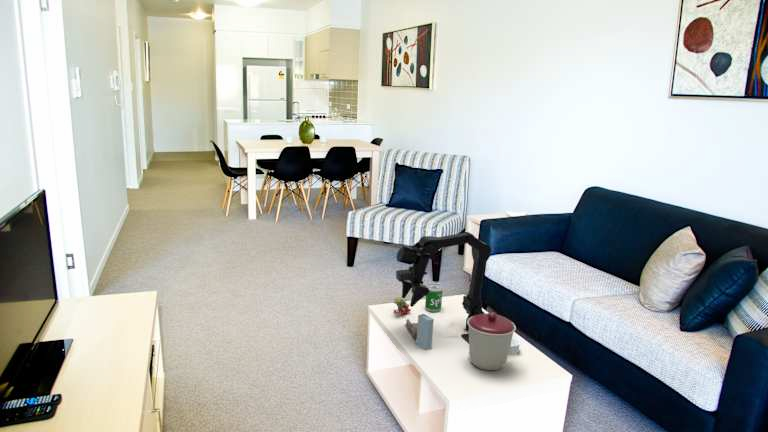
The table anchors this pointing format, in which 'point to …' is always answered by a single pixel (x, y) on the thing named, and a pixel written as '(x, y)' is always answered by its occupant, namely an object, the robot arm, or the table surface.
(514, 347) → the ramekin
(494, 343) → the canister
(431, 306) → the soda can
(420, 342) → the door panel
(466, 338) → the phone
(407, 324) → the floor track
